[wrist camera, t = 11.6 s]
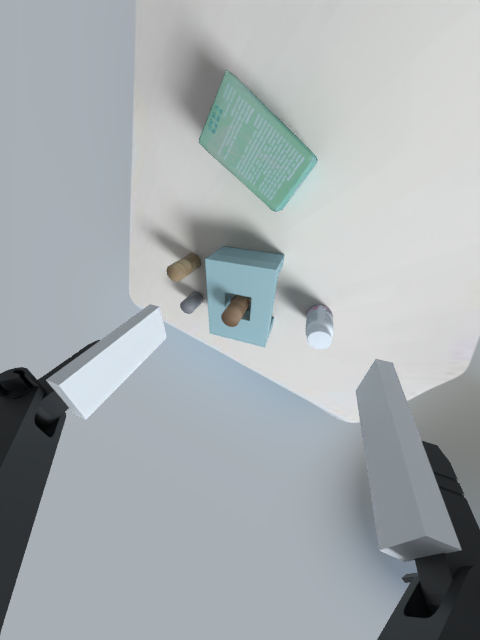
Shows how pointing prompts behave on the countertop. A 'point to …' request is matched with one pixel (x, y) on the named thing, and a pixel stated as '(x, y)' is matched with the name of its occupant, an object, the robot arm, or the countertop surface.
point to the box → (255, 144)
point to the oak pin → (183, 267)
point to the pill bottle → (319, 327)
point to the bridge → (242, 291)
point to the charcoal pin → (191, 302)
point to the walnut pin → (235, 310)
